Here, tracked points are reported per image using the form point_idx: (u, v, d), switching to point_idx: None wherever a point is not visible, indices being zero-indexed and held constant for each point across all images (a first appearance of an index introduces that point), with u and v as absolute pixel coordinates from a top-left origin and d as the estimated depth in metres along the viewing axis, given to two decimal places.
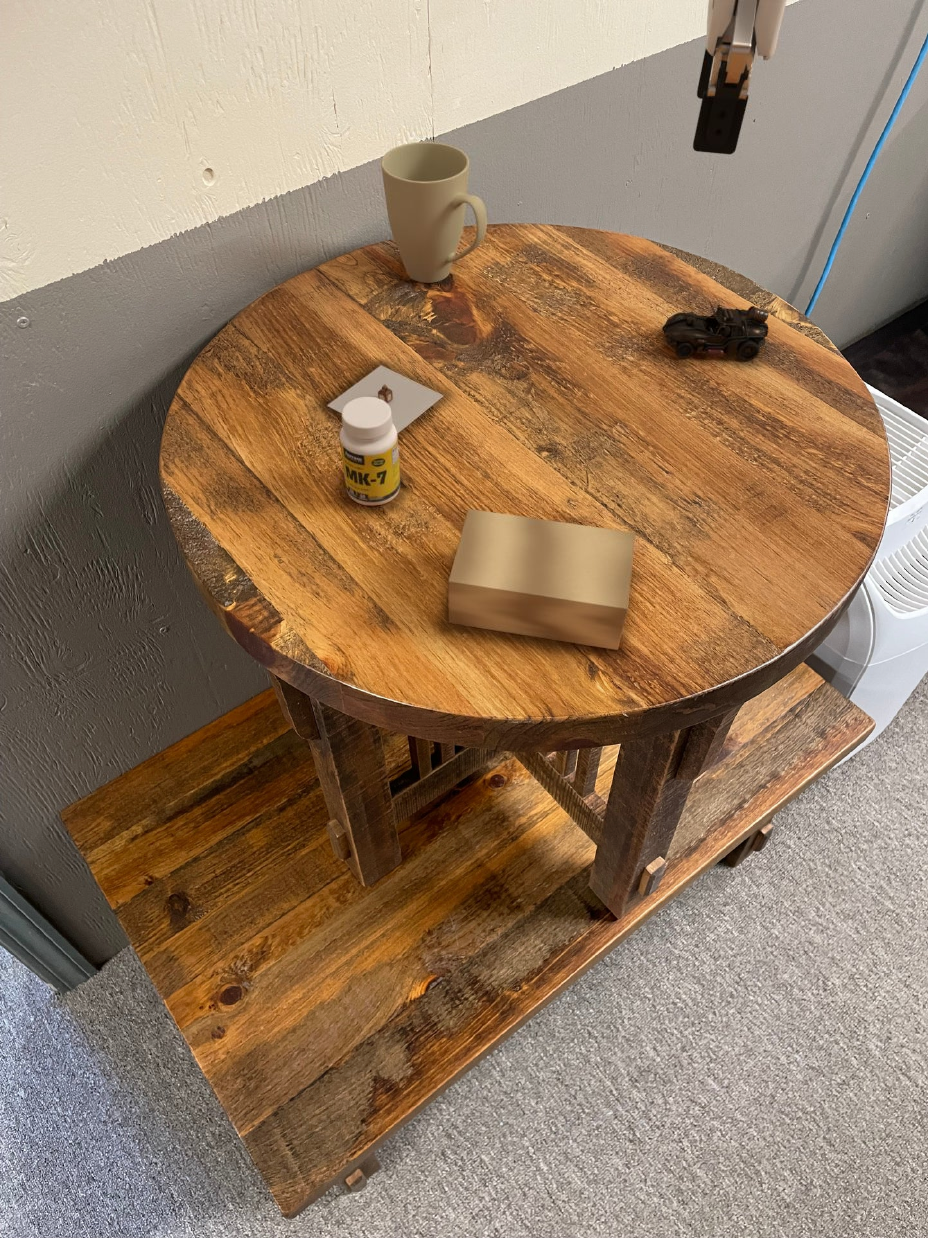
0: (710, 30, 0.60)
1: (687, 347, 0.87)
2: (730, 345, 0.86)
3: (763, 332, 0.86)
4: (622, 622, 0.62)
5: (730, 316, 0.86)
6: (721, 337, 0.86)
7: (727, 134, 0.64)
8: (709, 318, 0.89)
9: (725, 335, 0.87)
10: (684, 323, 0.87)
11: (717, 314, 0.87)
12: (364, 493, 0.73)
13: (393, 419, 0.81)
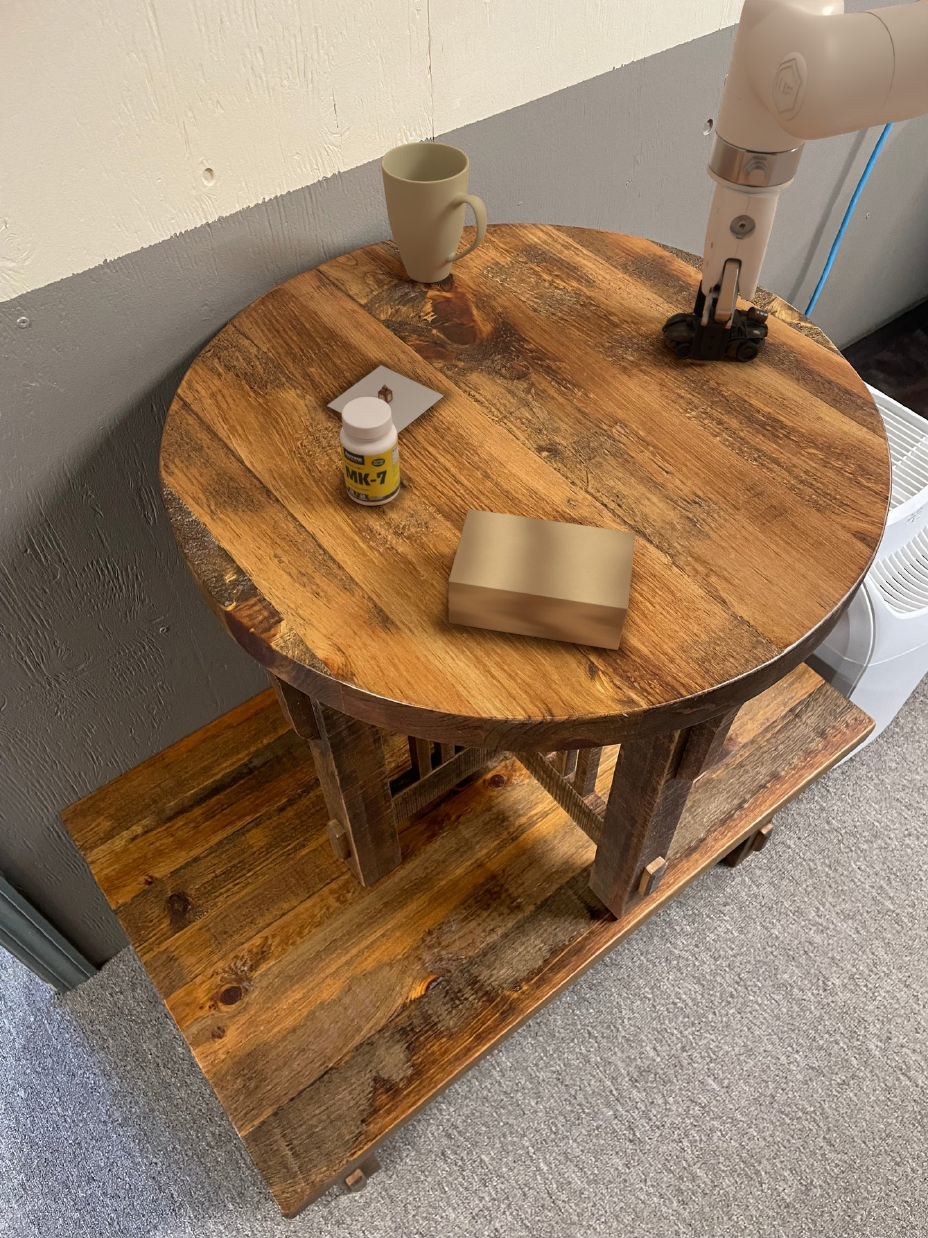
0: (705, 281, 0.79)
1: (687, 347, 0.87)
2: (730, 346, 0.86)
3: (763, 333, 0.86)
4: (622, 622, 0.62)
5: None
6: None
7: (716, 349, 0.84)
8: None
9: None
10: (684, 323, 0.87)
11: None
12: (364, 493, 0.73)
13: (393, 419, 0.81)
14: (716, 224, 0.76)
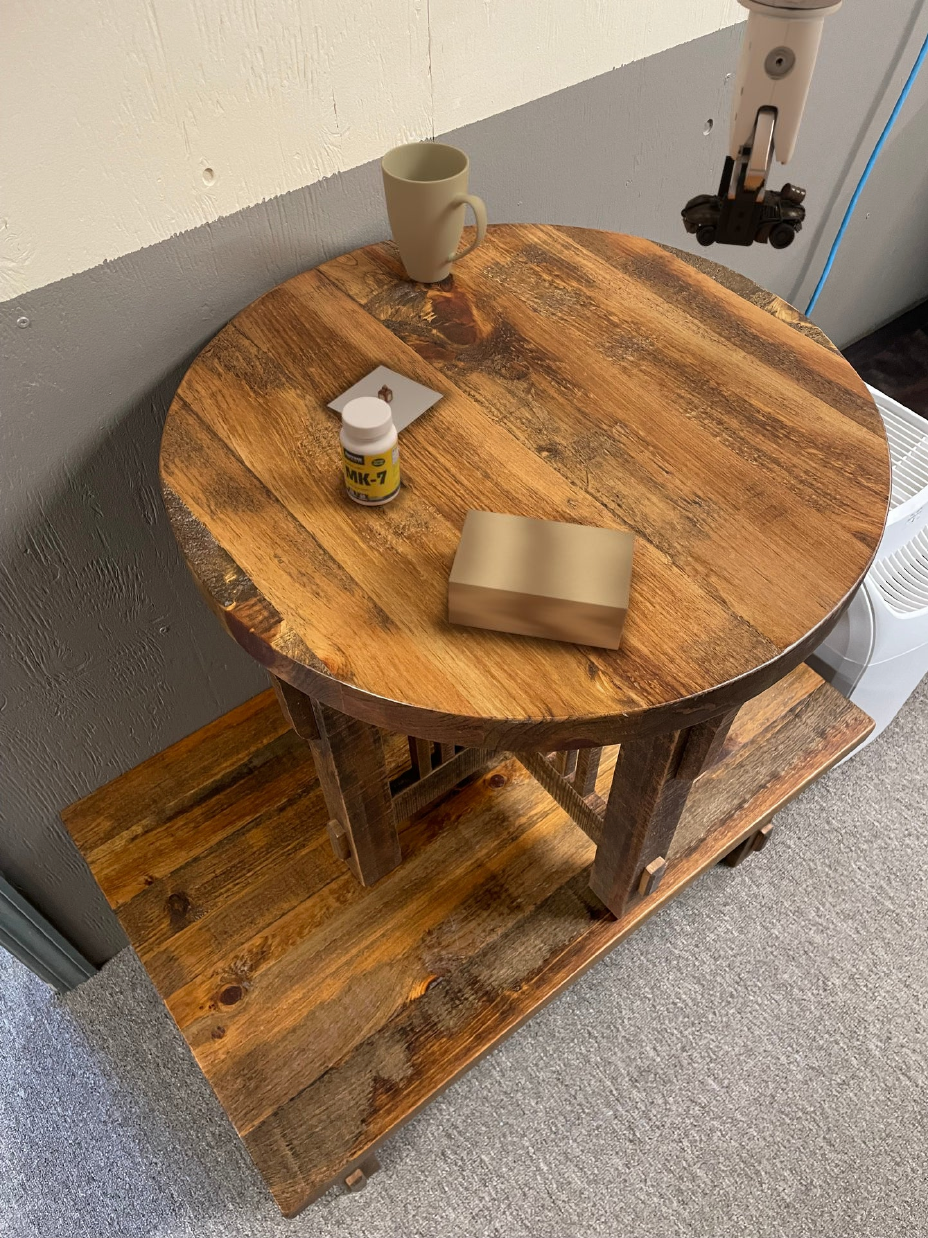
0: (733, 139, 0.67)
1: (710, 232, 0.74)
2: (761, 229, 0.74)
3: (800, 214, 0.74)
4: (622, 622, 0.62)
5: None
6: None
7: (745, 230, 0.72)
8: None
9: None
10: (707, 205, 0.74)
11: None
12: (364, 493, 0.73)
13: (393, 419, 0.81)
14: (748, 63, 0.63)
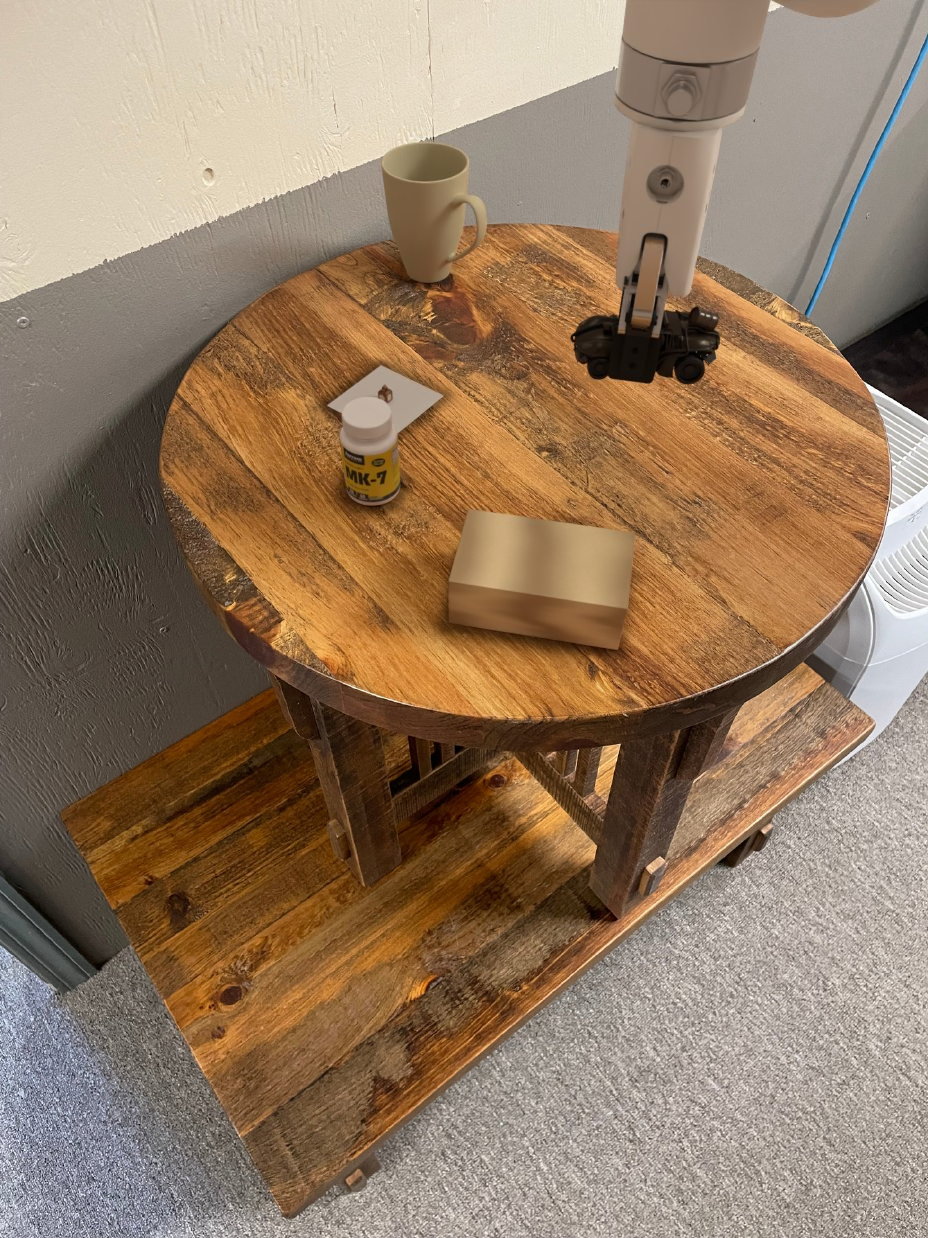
0: (617, 268, 0.54)
1: (604, 364, 0.61)
2: (664, 363, 0.61)
3: (711, 344, 0.61)
4: (622, 622, 0.62)
5: (664, 321, 0.60)
6: None
7: (642, 368, 0.59)
8: None
9: None
10: (600, 330, 0.62)
11: None
12: (364, 493, 0.73)
13: (393, 419, 0.81)
14: (627, 182, 0.50)
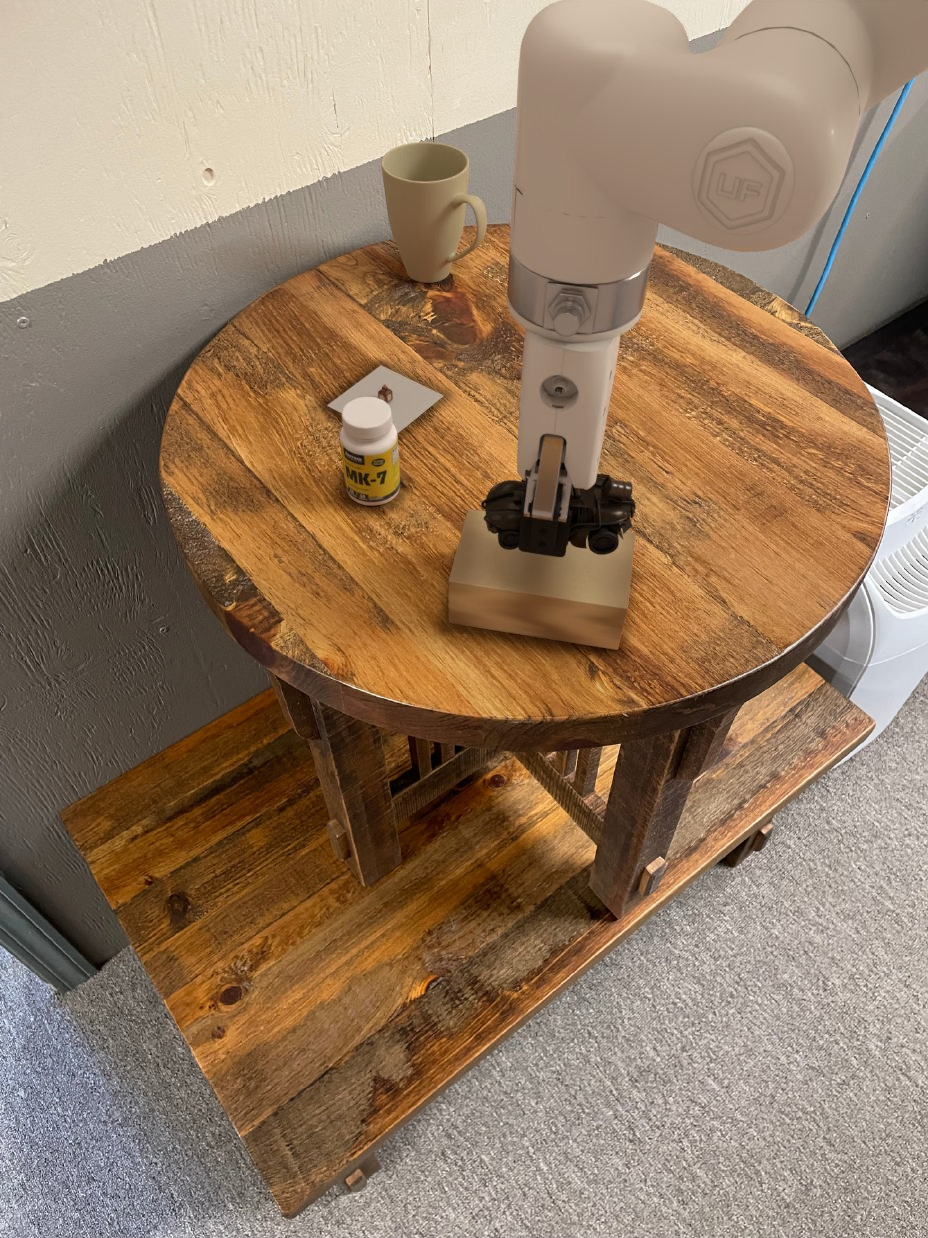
0: (517, 461, 0.51)
1: (514, 535, 0.59)
2: (577, 535, 0.58)
3: (625, 515, 0.58)
4: (622, 622, 0.62)
5: (575, 492, 0.58)
6: None
7: (552, 546, 0.57)
8: None
9: None
10: (511, 499, 0.59)
11: (558, 487, 0.59)
12: (364, 493, 0.73)
13: (393, 419, 0.81)
14: (522, 385, 0.48)
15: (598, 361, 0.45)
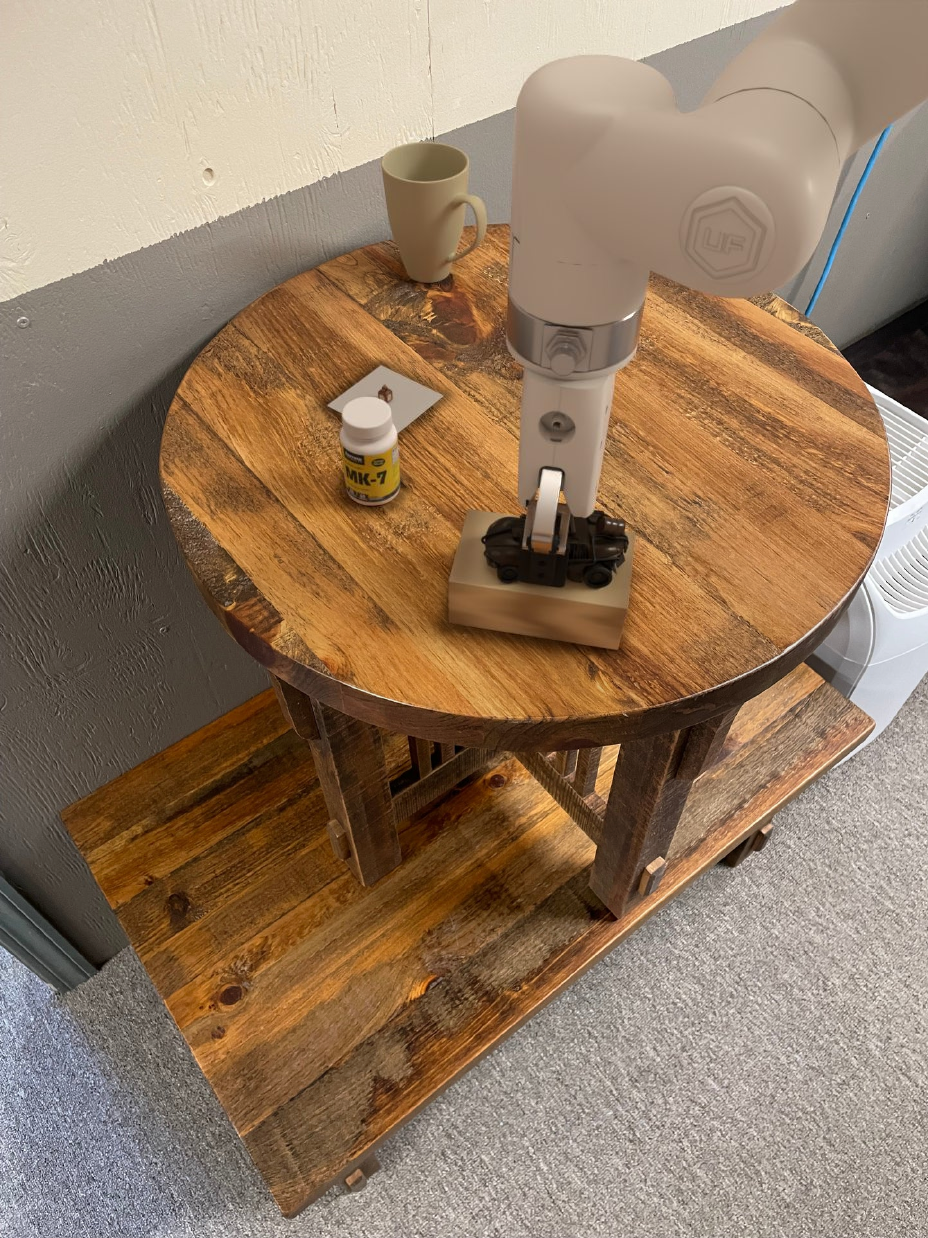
0: (518, 491, 0.53)
1: (513, 570, 0.62)
2: (572, 570, 0.61)
3: (618, 551, 0.61)
4: (622, 622, 0.62)
5: (571, 530, 0.61)
6: None
7: (551, 578, 0.57)
8: None
9: None
10: (509, 536, 0.62)
11: (555, 524, 0.62)
12: (364, 493, 0.73)
13: (393, 419, 0.81)
14: (521, 420, 0.50)
15: (594, 398, 0.47)
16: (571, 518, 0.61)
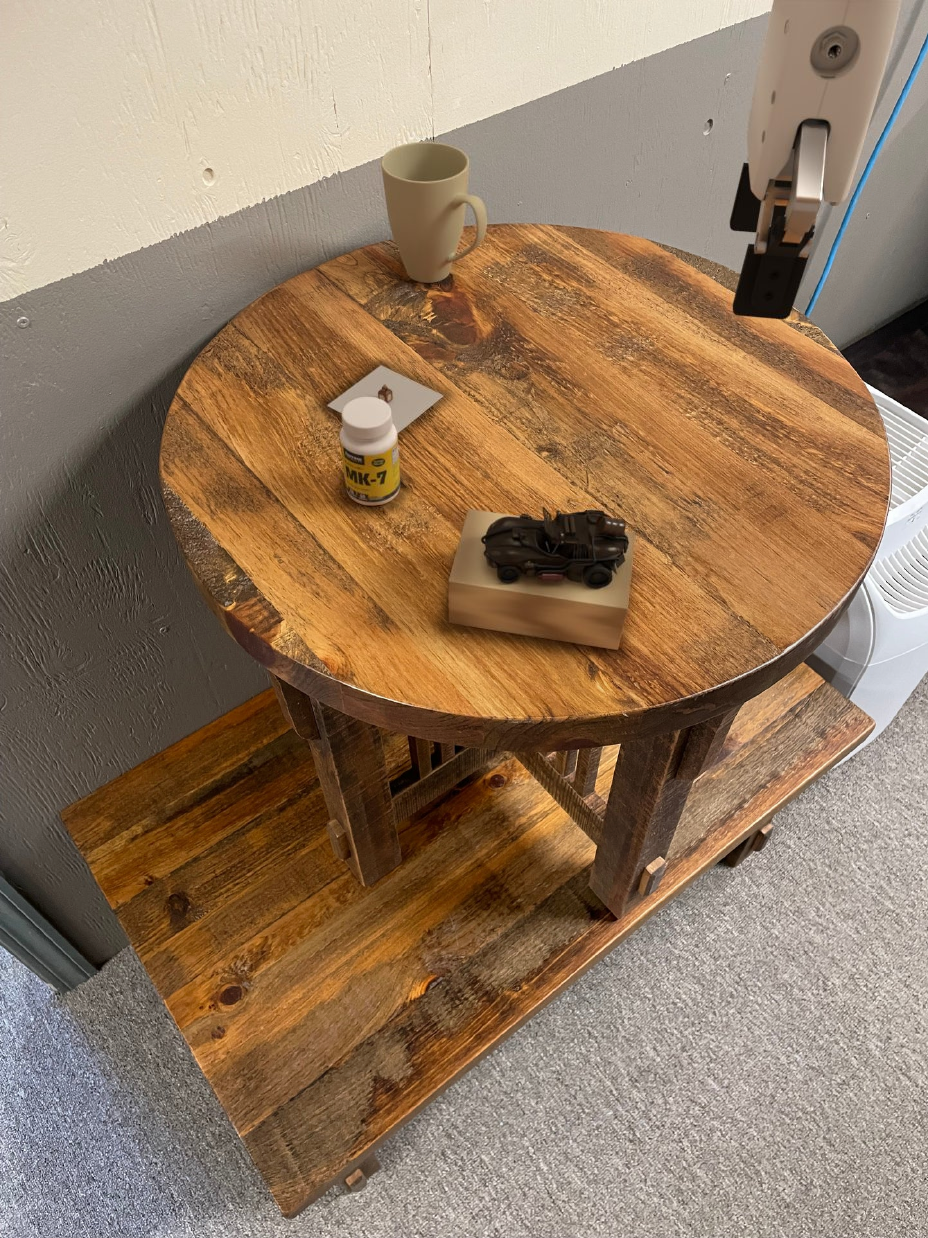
0: (759, 170, 0.44)
1: (513, 570, 0.62)
2: (572, 570, 0.61)
3: (618, 551, 0.61)
4: (622, 622, 0.62)
5: (571, 530, 0.61)
6: (559, 558, 0.61)
7: (780, 298, 0.48)
8: None
9: (566, 553, 0.62)
10: (509, 536, 0.62)
11: (555, 524, 0.62)
12: (364, 493, 0.73)
13: (393, 419, 0.81)
14: (783, 54, 0.40)
15: (891, 1, 0.38)
16: (571, 518, 0.61)
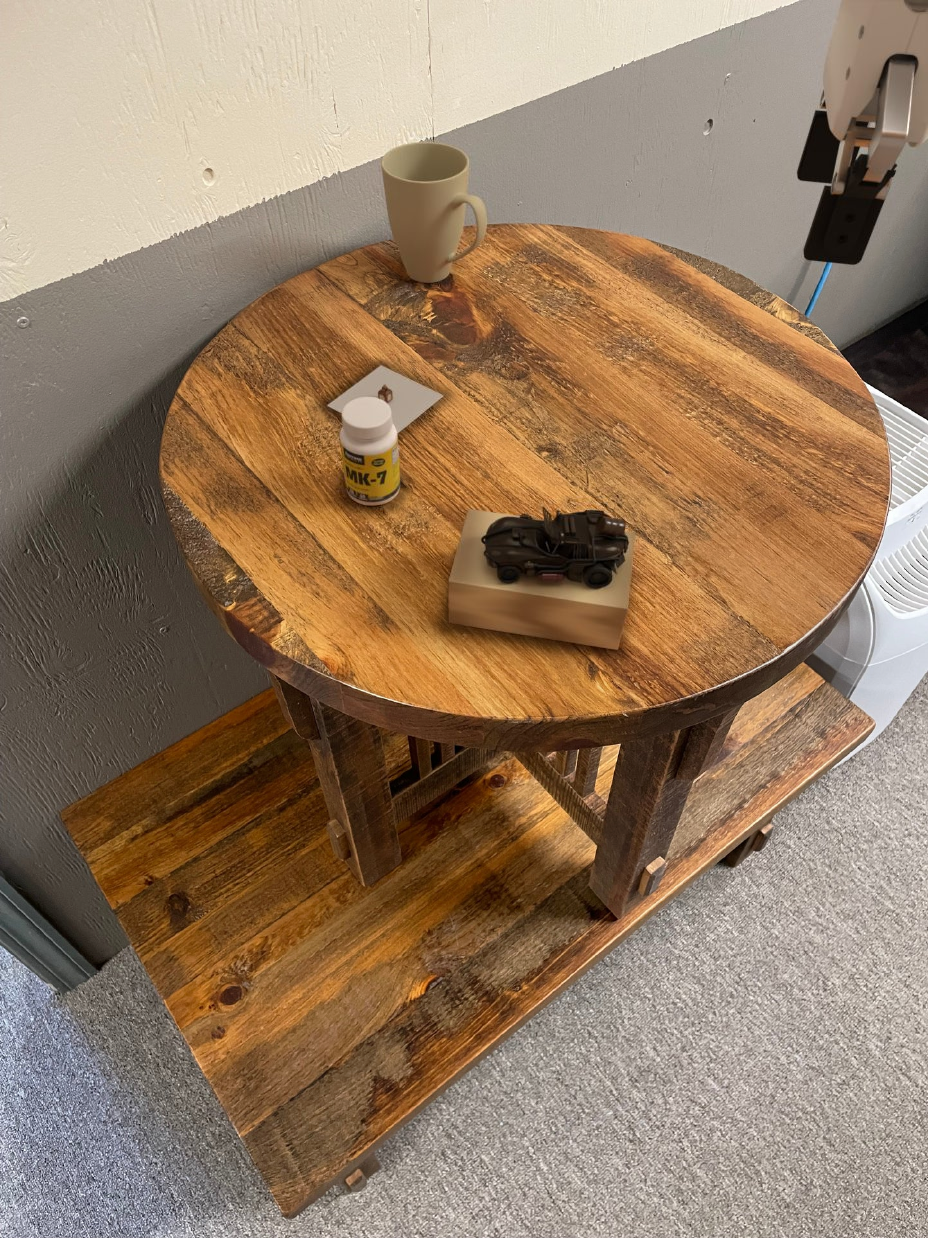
0: (841, 108, 0.44)
1: (513, 570, 0.62)
2: (572, 570, 0.61)
3: (619, 551, 0.61)
4: (622, 622, 0.62)
5: (571, 530, 0.61)
6: (559, 558, 0.61)
7: (854, 242, 0.48)
8: None
9: (566, 553, 0.62)
10: (509, 536, 0.62)
11: (555, 524, 0.62)
12: (364, 493, 0.73)
13: (393, 419, 0.81)
14: None
15: None
16: (571, 518, 0.61)
